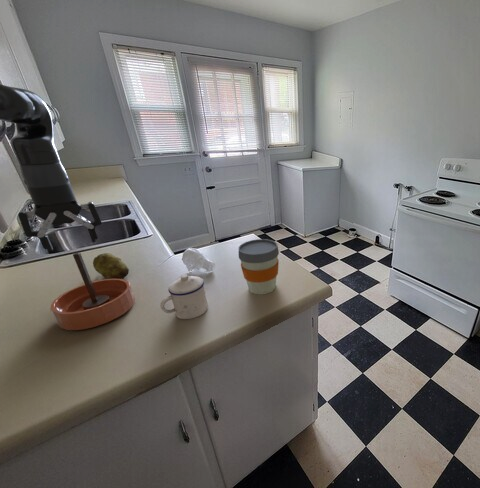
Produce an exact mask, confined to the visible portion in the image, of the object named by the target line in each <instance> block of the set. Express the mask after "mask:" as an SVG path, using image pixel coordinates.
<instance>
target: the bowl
mask: <svg viewBox="0 0 480 488" xmlns="http://www.w3.org/2000/svg"><path fill="white" fill-rule="evenodd" d="M92 284H93V286H94V289H95V291H96V294H97V296H98V295H107V296H108V297H109V300H110V302H108V303H105V304H103V305H101V306H98V307H94V308H91V309H87V310H84V309H83V306H82V304H83V302H84V301H86V300H87V299H89V298H90V296H89V293H88V291H87V288H86V286H85V283H84V284H81V285H79V286H76V287H73V288H71V289H68V290H67V291H65V292H63V293H62V294H60V295H58V296H57V297H56V298H55V299H54V300H53V301H52V303H50V308H49V309H50V311H51V313H52V316H53V317H54V319H55V322H56V324H57V325H58V326H59V327H60V329H63V330H66V331H80V330H87V329H91V328H95V327H98V326H102V325H105V324H107V323H110V322H111V321H113V320H116V319H117V318H119V317H121V316H123V315H124V314H125V313H127V312H128V311H129V310H130V309H132V307H133V306H134V304H135V301H136V298H135V295H134V293H133V289H132V286H131V283H130V282H129V281H128V280H126V279H124V278H122V279H107V278H104V279H99V280H94V281H92Z"/></svg>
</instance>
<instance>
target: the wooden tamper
mask: <svg viewBox="0 0 480 488" xmlns="http://www.w3.org/2000/svg"><path fill="white" fill-rule="evenodd" d="M72 256H73V259H74V262H75V264H76V267H77V268H78V270H79V273H80V276H81V278H82V281H83V283H84V284H85V286H86V288H87V291H88V293H89V296H90V298H89V299H87V300H86V301H84V302H83V304H82V306H83V309H84V310H87V309H91V308H94V307H98V306H101V305H103V304H105V303H108V302H110V300H109V297H108V296H107V295H98V296H97V294H96V291H95V289H94V286H93V284H92V282H93V281H92V279H91V275H90V274H89V271H88V269H87V266H86V263H85V262H84V261H85V260H84V259H83V256H82V253H81V252H74V253H73V254H72Z"/></svg>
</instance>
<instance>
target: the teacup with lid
mask: <svg viewBox="0 0 480 488" xmlns="http://www.w3.org/2000/svg"><path fill="white" fill-rule="evenodd" d="M168 293H169V296H167V297H165V298H163V299H162V300H161V301H160V309H161V310H162V312H164V313H166V314H174V313H175V315H176V317H177V318H179V319H181V320H191V319H196V318H197V317H201V316H202V315H203V314H204V313H205V312H207V310H208V309H209V303H208V299H207V294H206V288H205V280H204V279H203V278H202V277H200V276H196V275H188V274H182V275H181V276H180V278H178V279H176V280H174V281H173V282H171V283H170V285H169V286H168ZM170 300H171V301H172V305H173V308H172V309H171V308H170V309H166V308H165V305H166V303H167V302H168V301H170Z"/></svg>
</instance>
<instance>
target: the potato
mask: <svg viewBox="0 0 480 488" xmlns="http://www.w3.org/2000/svg"><path fill="white" fill-rule="evenodd" d="M92 264H93V265H92V266H93V268H94V270H95V271H96V273H98V274H100V275H101V276H102V277H103V278H104V279H124V278H126V277H127V276H128V275H129V273H130V269H129V267H128V266H127V265H126V263H125V262H124V261H123V260H122V259H121V258H120V257H118V256H115V255H114V254H112V253H109V252H108V253H106V252H105V253H100V254H98V255H97V256H95V257H94V259H92Z"/></svg>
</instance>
